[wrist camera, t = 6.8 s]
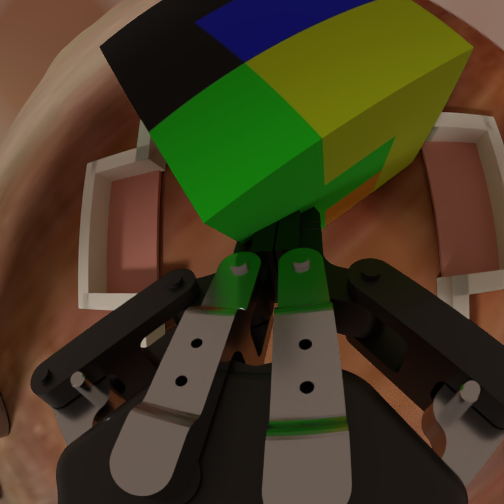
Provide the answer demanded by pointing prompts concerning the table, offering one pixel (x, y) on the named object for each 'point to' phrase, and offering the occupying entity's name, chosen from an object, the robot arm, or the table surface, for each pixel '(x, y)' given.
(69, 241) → the table surface
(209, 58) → the puzzle toy
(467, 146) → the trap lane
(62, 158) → the table surface
